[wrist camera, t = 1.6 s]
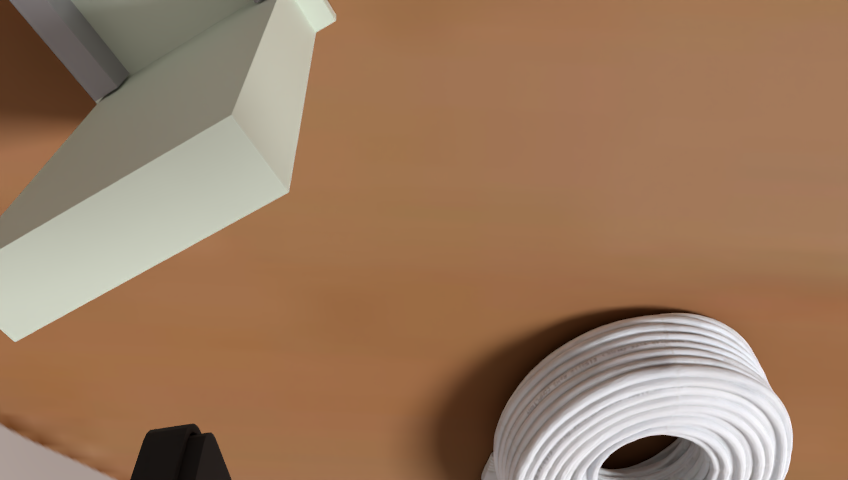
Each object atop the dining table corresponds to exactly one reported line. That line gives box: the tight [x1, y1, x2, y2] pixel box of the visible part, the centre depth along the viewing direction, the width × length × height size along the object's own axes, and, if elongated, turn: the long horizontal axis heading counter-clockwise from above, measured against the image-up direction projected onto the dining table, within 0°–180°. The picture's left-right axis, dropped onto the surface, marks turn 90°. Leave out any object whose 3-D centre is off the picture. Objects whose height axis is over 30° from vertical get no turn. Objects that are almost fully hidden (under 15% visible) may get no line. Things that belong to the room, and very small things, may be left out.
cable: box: [481, 313, 793, 480], centre depth 44 cm, size 18×18×6 cm
